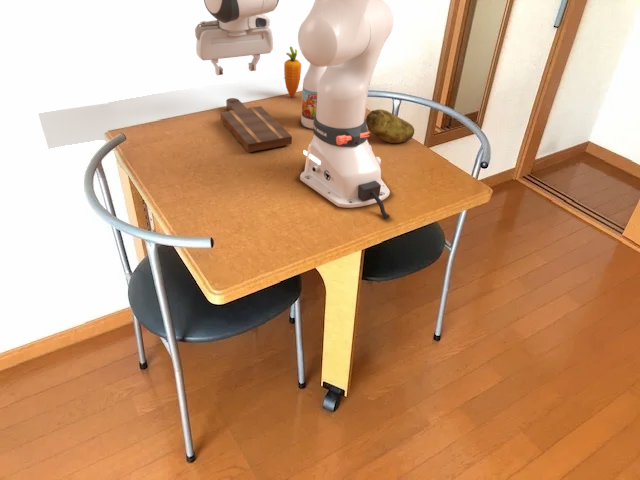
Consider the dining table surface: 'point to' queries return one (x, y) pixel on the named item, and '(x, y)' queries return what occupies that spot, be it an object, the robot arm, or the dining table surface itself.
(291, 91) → the carrot
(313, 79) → the milk bottle
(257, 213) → the dining table surface
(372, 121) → the potato
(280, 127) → the cutting board
